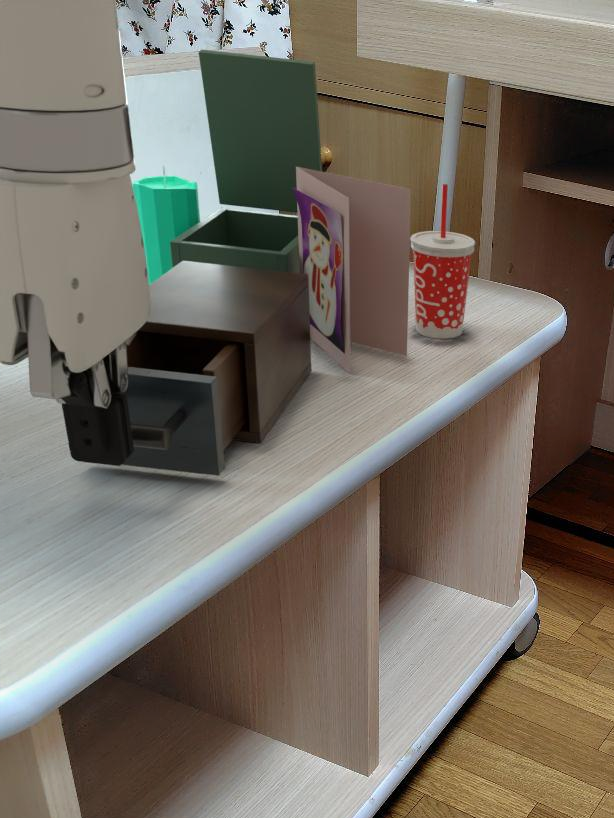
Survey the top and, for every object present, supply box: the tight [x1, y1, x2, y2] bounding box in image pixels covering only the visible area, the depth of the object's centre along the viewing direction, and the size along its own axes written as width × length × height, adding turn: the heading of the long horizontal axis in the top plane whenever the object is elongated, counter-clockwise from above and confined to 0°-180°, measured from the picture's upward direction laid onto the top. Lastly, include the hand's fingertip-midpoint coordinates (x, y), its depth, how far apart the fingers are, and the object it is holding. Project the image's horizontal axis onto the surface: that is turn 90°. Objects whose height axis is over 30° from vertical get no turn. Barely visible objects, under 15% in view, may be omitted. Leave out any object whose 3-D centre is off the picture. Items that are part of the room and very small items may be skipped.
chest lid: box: [198, 49, 323, 214], centre depth 95 cm, size 14×11×1 cm
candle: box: [132, 165, 201, 285], centre depth 99 cm, size 6×6×12 cm
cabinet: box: [138, 261, 312, 444], centre depth 78 cm, size 15×11×9 cm
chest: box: [170, 207, 300, 274], centre depth 97 cm, size 14×11×8 cm
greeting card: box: [292, 167, 412, 374], centre depth 88 cm, size 11×7×15 cm, turn 33°
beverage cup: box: [410, 183, 476, 340], centre depth 94 cm, size 6×6×14 cm
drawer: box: [69, 331, 249, 477], centre depth 70 cm, size 18×9×7 cm, turn 176°
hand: (103, 457), depth 60 cm, fingers closed
